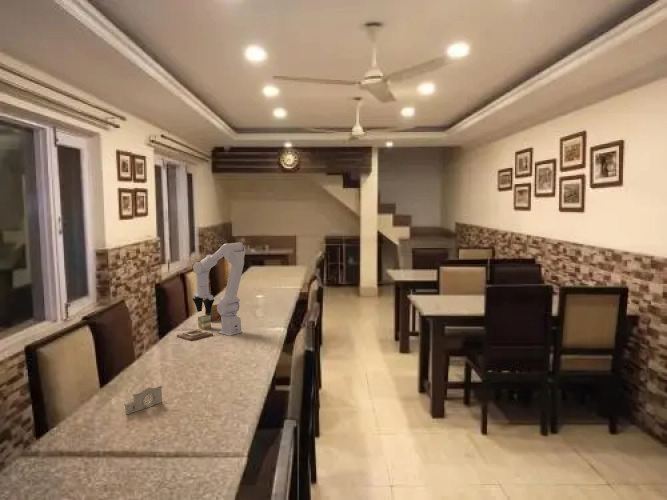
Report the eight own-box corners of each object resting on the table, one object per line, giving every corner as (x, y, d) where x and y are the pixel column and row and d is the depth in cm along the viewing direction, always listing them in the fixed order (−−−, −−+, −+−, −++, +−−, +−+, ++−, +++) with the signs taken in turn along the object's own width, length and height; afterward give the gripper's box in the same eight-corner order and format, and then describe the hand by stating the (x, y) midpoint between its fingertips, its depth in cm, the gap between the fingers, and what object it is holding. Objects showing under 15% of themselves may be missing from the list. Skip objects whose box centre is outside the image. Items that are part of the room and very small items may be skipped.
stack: (211, 327, 251) (210, 316, 250) (203, 329, 247) (202, 317, 247) (206, 326, 254) (205, 315, 253) (198, 328, 250) (197, 316, 250)
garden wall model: (127, 415, 146) (125, 395, 146) (124, 413, 148) (122, 394, 147) (163, 402, 156) (162, 384, 155) (160, 400, 157) (159, 382, 156)
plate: (213, 335, 235) (212, 331, 235) (190, 341, 227) (190, 337, 226) (198, 331, 244) (198, 328, 243) (176, 336, 235) (176, 333, 234)
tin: (208, 322, 264) (207, 306, 263) (204, 321, 265) (203, 306, 265) (230, 316, 275) (229, 301, 275) (226, 316, 277) (225, 301, 277)
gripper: (187, 285, 251) (189, 311, 252) (204, 288, 241) (205, 315, 242) (199, 283, 256) (201, 309, 257) (216, 286, 246) (217, 313, 247)
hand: (203, 312), depth 250 cm, fingers open, 7 cm apart
